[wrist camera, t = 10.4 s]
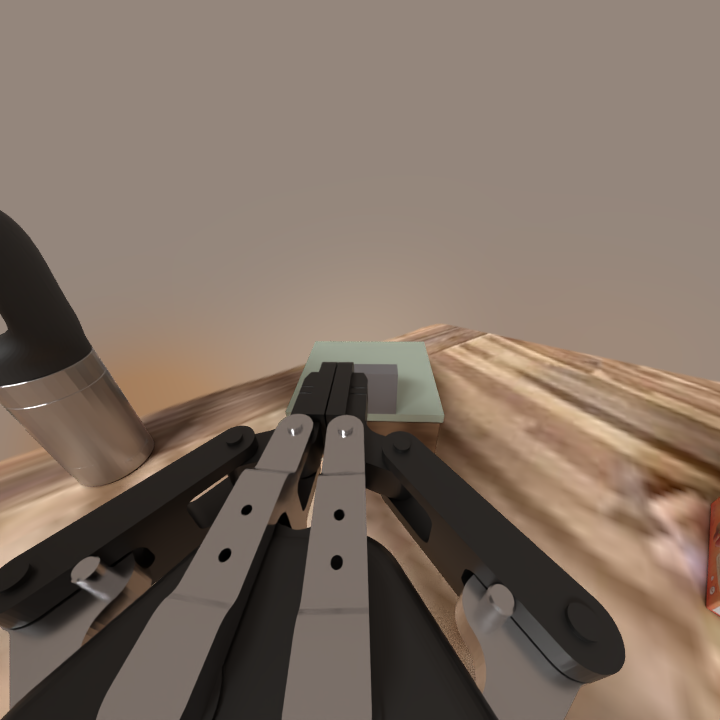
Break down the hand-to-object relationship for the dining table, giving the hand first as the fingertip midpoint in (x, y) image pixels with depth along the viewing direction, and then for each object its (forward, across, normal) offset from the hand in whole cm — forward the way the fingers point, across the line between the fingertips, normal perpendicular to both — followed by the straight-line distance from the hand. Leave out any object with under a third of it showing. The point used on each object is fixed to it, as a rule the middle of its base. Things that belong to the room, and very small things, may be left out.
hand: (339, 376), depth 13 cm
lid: (+23, 0, +17) cm, 28 cm away
